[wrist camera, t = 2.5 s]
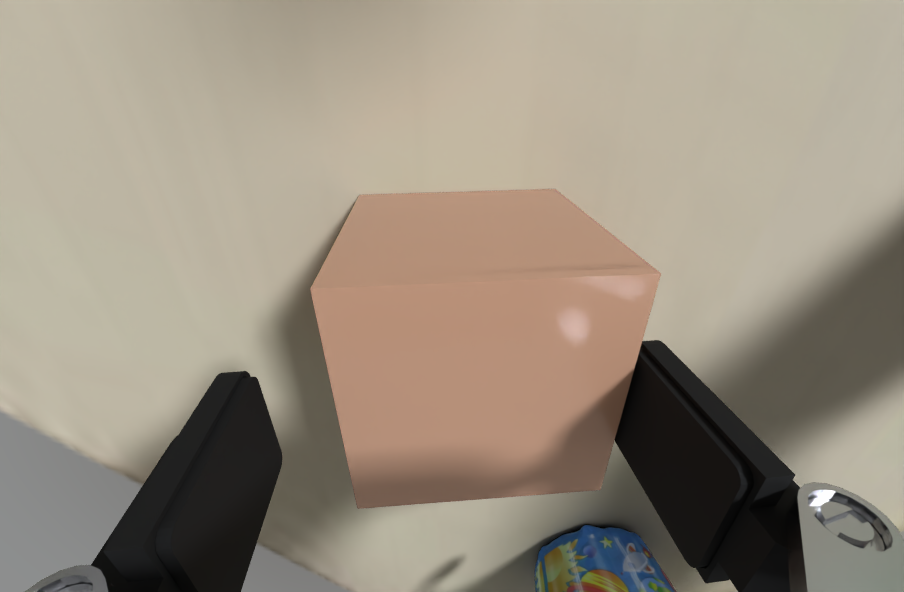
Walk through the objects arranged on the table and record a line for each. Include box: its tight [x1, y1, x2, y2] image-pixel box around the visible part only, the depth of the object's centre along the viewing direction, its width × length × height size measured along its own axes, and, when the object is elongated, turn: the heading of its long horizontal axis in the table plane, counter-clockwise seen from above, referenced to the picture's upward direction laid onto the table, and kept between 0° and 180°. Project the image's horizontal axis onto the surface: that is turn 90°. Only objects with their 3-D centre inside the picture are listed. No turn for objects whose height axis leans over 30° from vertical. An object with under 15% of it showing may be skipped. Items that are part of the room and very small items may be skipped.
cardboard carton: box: [310, 189, 661, 509], centre depth 12 cm, size 7×7×7 cm
